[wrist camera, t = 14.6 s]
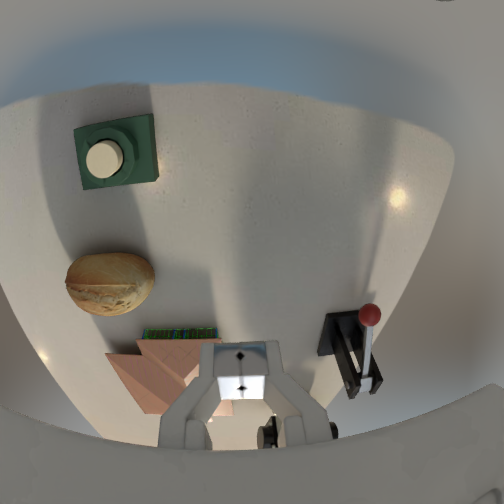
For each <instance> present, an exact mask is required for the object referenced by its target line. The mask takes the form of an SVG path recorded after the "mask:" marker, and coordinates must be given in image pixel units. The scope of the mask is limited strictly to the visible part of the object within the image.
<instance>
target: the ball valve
mask: <svg viewBox="0 0 504 504" xmlns="http://www.w3.org/2000/svg"><path fill="white" fill-rule="evenodd" d="M273 413H274V412H273ZM274 414H275V413H274ZM275 415H276V414H275ZM328 420H329V419H328ZM329 424H330V428H331V432H332V437H333V440H334V439H338V429H337V426H336V424H335V423H334V422H329ZM281 426H282V422H281V420H280V419H279V418H278V417H277V416H271V417H270V419H269V421H268V422H267V424H266V425H265V426H260V427H259V429H258V433H257V446H258V449H268V448H278V442H277V440H278V436H279V433H280V430H281Z"/></svg>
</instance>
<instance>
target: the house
mask: <svg viewBox="0 0 504 504" xmlns="http://www.w3.org/2000/svg"><path fill="white" fill-rule="evenodd" d="M198 329H211V333H212V329H216V335H207V331H206V339H202V337H201V339H188V336H187V334H186V329H145V330H144V334H145V332H146V330H152V331H153V330H156V332H157V330H169V332H170V330H174V332H173V336H169V335H168V336H165V333H164V336H156V334H155V336H152V333H151V336H148V335H147V336H146V335H145V336H144V334H143V338H144V337H145V338H146V339H143V338H142V339H136V342H137V344H138V346H139V348H140V351H141V353H142V355H128V354H111V353H105V355H106V357H107V358H108V360H109V362H110V363H111V365H112V366H113V368H114V370H115V371H116V373H117V374H118V376H119V377H120V379H121V381H122V382H123V384H124V385H125V387H126V388H127V389H128V391H129V392H130V394H131V395H132V397H133V398H134V399H135V401H136V402H137V404H138V405H139V406H140V408H141V409H142V410H143V412H144V413H145V414H158V415H163V414H164V413H165V411H166V410H167V409H168V408H169V407H170V406H171V405H172V403H173V402H174V401H175V400H176V399H177V398H178V396H179V395H180V394H181V393H182V392H183V391H184V389H185V388H186V387H187V386H188V385H189V383H190V382H191V381H192V380H193V379H194V378H195V377H198V376H199V361H200V346H201V343H222V341H221V338H218V332H217V328H198ZM198 329H197V333H198ZM175 330H177V331H178V330H184V335H183V336H177V334H176V331H175ZM188 332H189V329H188ZM146 334H148V332H146ZM160 334H161V331H160ZM175 334H176V336H175ZM179 334H180V331H179ZM207 336H216V338H213V339H207ZM147 337H148V339H147ZM149 337H159V339H151V338H150V339H149ZM160 337H168V338H169V337H173V338H172V339H164V338H163V339H160ZM177 337H183V339H179V338H177ZM192 337H196V336H193V333H192ZM176 338H177V339H176ZM185 338H186V339H185ZM227 415H234V412H233V407H232V401H231V399H230V400H221V402H220V404H219V406H218V407H217V409H216V410H215V412H214V413H213V415H212V416H227ZM208 422H213V421H212V418H210V419H209V421H208Z"/></svg>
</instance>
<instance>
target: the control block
mask: <svg viewBox="0 0 504 504" xmlns="http://www.w3.org/2000/svg"><path fill="white" fill-rule="evenodd" d="M74 138H75V145H76V152H77V158H78V164H79V170H80V175H81V180H82V185H83V190H89V189H95V188H103V187H110V186H118V185H127V184H135V183H145V182H155V181H156V179H157V178H158V177H159V171H158V162H157V152H156V142H155V130H154V117H153V114H146V115H139V116H133V117H127V118H122V119H116V120H111V121H106V122H102V123H97V124H92V125H88V126H84V127H80V128H77V129H74ZM105 140H110V141H113V142H115V143H117V144H118V145H119V147H120V148H121V150H122V153H123V161H122V164H121V166H120V168H119V169H118V170H117V171H116V172H115V173H113V174H112V175H111V176H109V177H107V178H98V177H96V176H94V175H93V174H92V173H91V172H90V171H89V169H88V167H87V163H86V158H87V154H88V152H89V150H90V148H91V147H92V146H94V145H95V144H98V143H100V142H102V141H105Z"/></svg>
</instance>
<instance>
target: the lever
mask: <svg viewBox="0 0 504 504" xmlns="http://www.w3.org/2000/svg"><path fill="white" fill-rule="evenodd" d="M358 316H359V320H360V322H361V323H362V324H363V325H364V326H365V330H364V342H363V353H362V362H361V371H360V372H359V373H357V374H358V377H359V379H360V382H361V385H362V386H361V388H360V389H359V391H358V392H359V393H362V392H367V391H370V390H371V384H372V378H373V377H372V376H371V375H370V374H369V373H368V372H369V364H370V356H371V346H372V336H373V326H374V325H376V324H377V323H378V322H379V320H380V318H381V311H380V309H379V307H378V306H377V305H375V304H371V303H369V304H366V305H364V306H363V307H362V308H361V309H360V311H359V315H358Z"/></svg>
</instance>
